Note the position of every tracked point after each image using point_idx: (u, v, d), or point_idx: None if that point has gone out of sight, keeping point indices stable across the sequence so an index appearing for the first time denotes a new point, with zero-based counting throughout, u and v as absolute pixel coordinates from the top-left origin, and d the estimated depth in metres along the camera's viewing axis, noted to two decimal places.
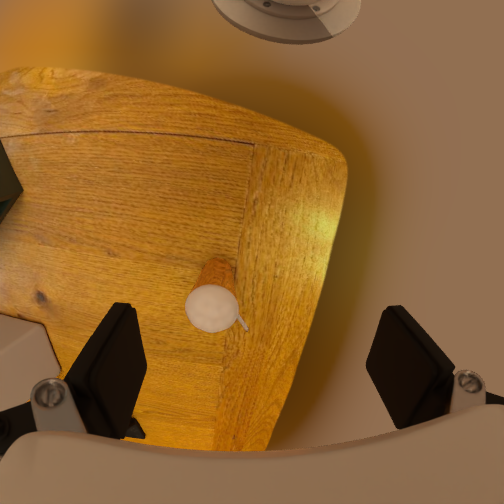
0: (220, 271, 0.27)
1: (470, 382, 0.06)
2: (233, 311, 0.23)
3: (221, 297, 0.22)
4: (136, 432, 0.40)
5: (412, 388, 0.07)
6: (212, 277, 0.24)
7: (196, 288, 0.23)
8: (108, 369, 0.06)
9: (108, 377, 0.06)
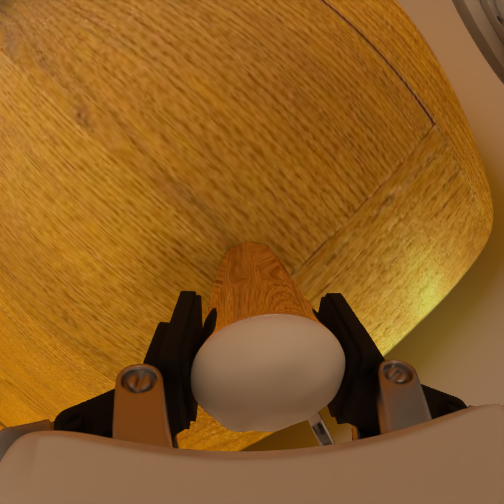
0: (293, 284, 0.11)
1: (397, 371, 0.07)
2: (321, 407, 0.07)
3: (334, 373, 0.07)
4: None
5: None
6: (302, 297, 0.09)
7: (278, 315, 0.07)
8: (191, 351, 0.08)
9: (191, 359, 0.07)
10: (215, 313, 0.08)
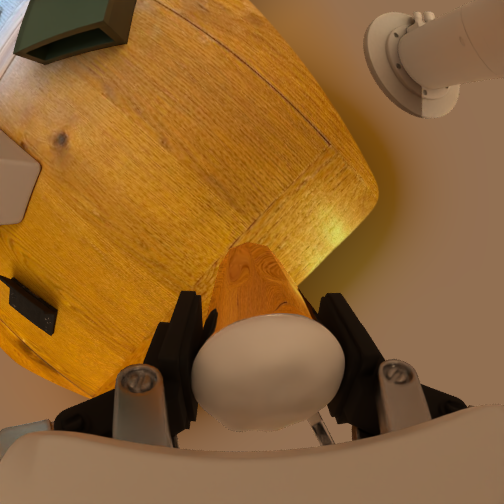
0: (293, 284, 0.11)
1: (397, 371, 0.07)
2: (321, 407, 0.08)
3: (333, 373, 0.07)
4: (48, 324, 0.36)
5: None
6: (302, 298, 0.09)
7: (278, 316, 0.07)
8: (191, 351, 0.08)
9: (191, 359, 0.07)
10: (215, 313, 0.08)
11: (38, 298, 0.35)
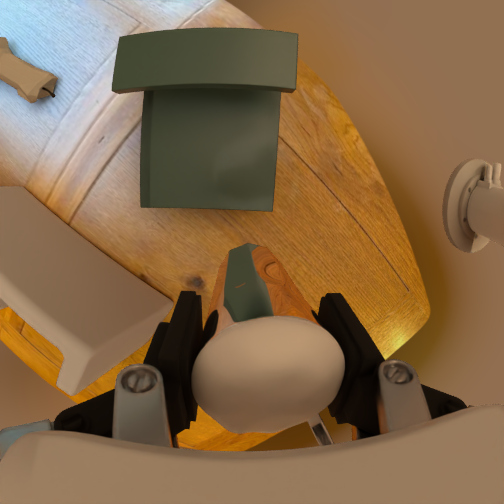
0: (293, 285, 0.11)
1: (397, 371, 0.07)
2: None
3: (333, 375, 0.07)
4: None
5: None
6: (302, 300, 0.09)
7: (279, 318, 0.07)
8: (191, 351, 0.08)
9: (191, 359, 0.07)
10: (215, 315, 0.08)
11: None
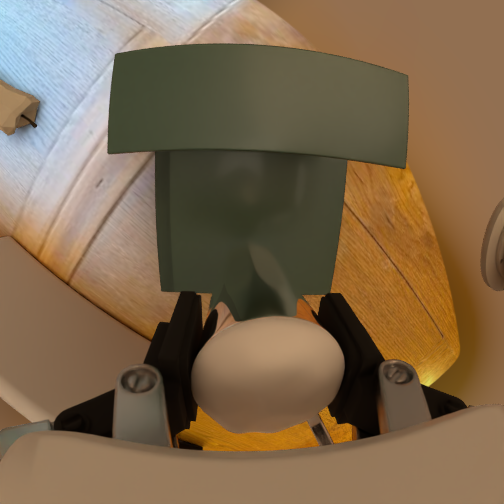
0: (293, 285, 0.11)
1: (397, 371, 0.07)
2: None
3: (333, 375, 0.07)
4: None
5: None
6: (302, 300, 0.09)
7: (278, 318, 0.07)
8: (191, 351, 0.08)
9: (191, 359, 0.07)
10: (215, 315, 0.08)
11: (182, 442, 0.41)
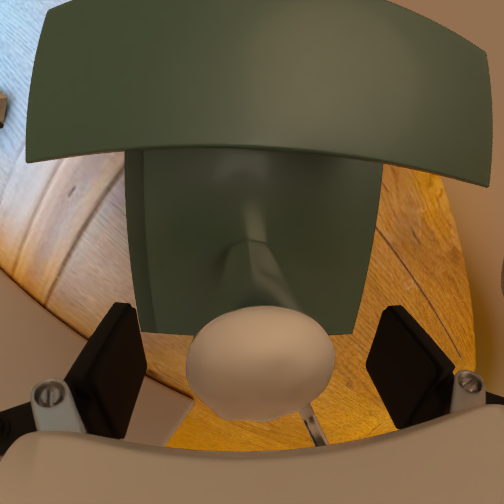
0: (289, 280, 0.12)
1: (470, 382, 0.06)
2: (311, 399, 0.08)
3: (322, 365, 0.07)
4: None
5: (412, 388, 0.07)
6: (295, 292, 0.09)
7: (268, 307, 0.07)
8: (108, 369, 0.06)
9: (108, 377, 0.06)
10: (211, 306, 0.09)
11: None
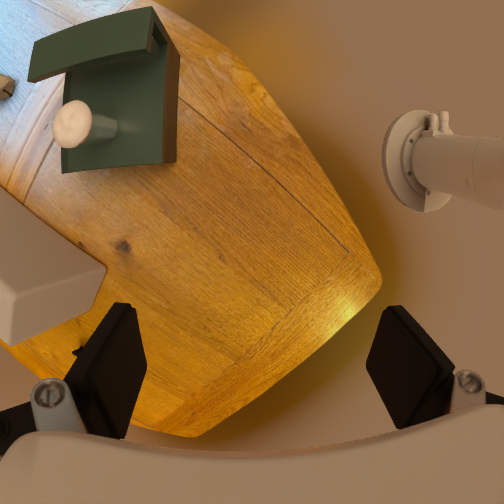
0: (102, 114, 0.23)
1: (470, 382, 0.06)
2: (82, 130, 0.19)
3: (82, 112, 0.19)
4: None
5: (412, 388, 0.07)
6: (91, 106, 0.21)
7: (73, 101, 0.19)
8: (108, 369, 0.06)
9: (108, 377, 0.06)
10: None
11: None
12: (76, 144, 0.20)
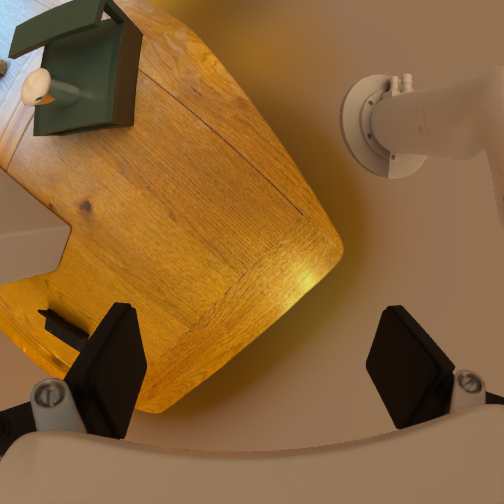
0: (63, 80, 0.23)
1: (470, 382, 0.06)
2: (41, 90, 0.19)
3: (42, 76, 0.18)
4: (81, 345, 0.48)
5: (412, 388, 0.07)
6: None
7: (38, 69, 0.18)
8: (108, 369, 0.06)
9: (108, 377, 0.06)
10: None
11: (72, 325, 0.47)
12: (36, 102, 0.20)
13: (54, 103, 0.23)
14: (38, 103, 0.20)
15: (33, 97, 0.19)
